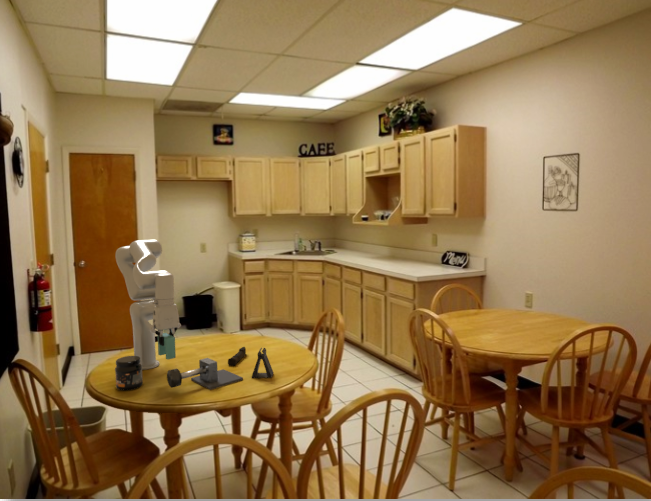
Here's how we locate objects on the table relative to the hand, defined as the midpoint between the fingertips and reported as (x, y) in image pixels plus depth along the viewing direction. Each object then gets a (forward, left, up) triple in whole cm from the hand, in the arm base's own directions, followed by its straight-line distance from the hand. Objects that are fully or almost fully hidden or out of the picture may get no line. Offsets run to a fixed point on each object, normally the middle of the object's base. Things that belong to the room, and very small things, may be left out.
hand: (166, 343), depth 201 cm
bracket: (+14, +12, -16) cm, 24 cm away
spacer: (0, 0, -6) cm, 6 cm away
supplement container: (-6, -14, -17) cm, 23 cm away
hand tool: (-4, +38, -17) cm, 42 cm away
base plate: (+14, +16, -17) cm, 27 cm away
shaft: (+14, +4, -14) cm, 20 cm away
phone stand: (+24, +33, -17) cm, 44 cm away
